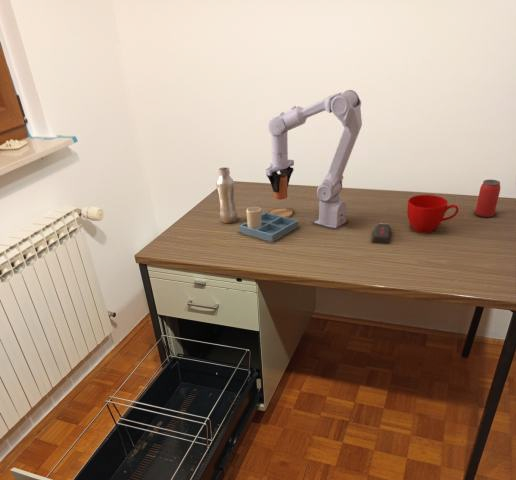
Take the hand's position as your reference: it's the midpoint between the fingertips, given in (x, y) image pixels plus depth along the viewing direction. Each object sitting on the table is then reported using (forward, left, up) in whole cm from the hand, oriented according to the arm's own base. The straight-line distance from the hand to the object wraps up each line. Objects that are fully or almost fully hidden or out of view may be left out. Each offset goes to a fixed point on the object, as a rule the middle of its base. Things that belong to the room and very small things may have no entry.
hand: (280, 189), depth 185 cm
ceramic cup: (-52, -18, -10) cm, 56 cm away
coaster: (+1, -1, -10) cm, 10 cm away
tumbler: (0, 0, -3) cm, 3 cm away
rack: (-5, +14, -10) cm, 18 cm away
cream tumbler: (-2, +18, -10) cm, 20 cm away
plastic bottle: (+13, +16, -10) cm, 23 cm away
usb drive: (-41, -4, -10) cm, 43 cm away
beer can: (-63, -41, -10) cm, 76 cm away
